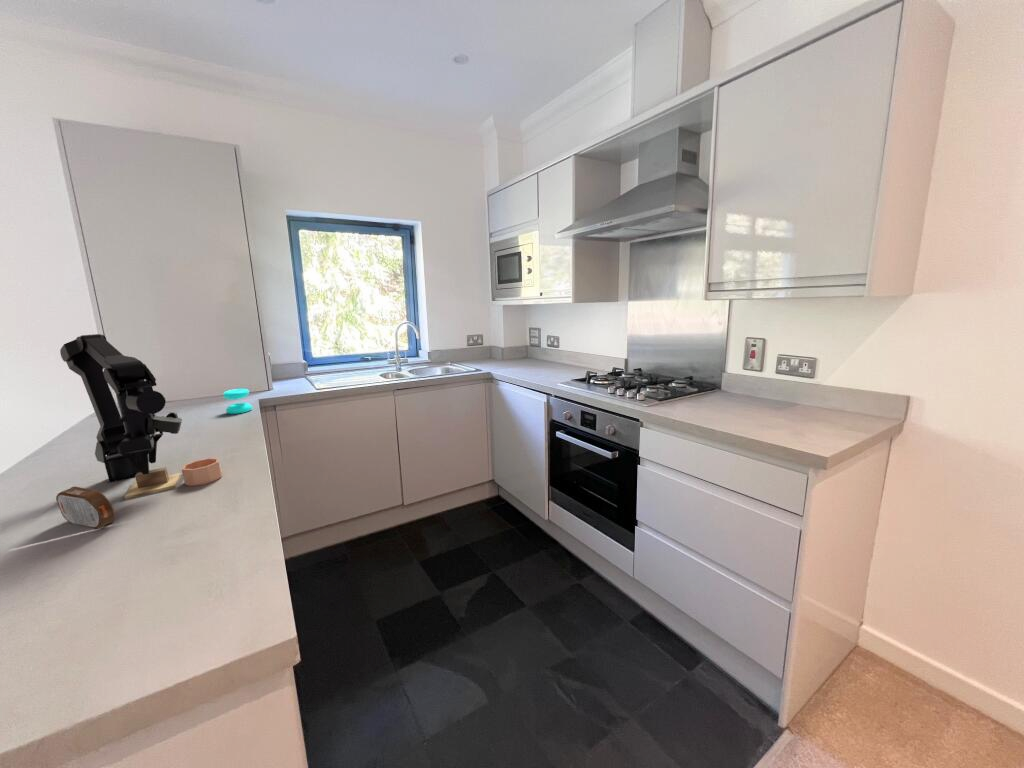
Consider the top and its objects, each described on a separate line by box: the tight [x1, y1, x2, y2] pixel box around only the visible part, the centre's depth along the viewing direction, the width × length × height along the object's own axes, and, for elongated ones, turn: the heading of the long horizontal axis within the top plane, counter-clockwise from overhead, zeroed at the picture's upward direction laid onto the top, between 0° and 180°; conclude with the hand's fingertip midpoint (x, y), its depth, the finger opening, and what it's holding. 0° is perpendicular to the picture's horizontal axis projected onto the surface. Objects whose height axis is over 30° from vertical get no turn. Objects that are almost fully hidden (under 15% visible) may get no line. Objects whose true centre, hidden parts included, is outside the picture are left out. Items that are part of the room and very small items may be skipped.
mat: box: [118, 473, 184, 503], centre depth 112 cm, size 12×12×1 cm
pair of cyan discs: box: [222, 388, 253, 415], centre depth 191 cm, size 10×10×10 cm
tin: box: [55, 486, 116, 530], centre depth 93 cm, size 15×3×8 cm, turn 71°
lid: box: [124, 466, 181, 499], centre depth 111 cm, size 10×10×4 cm
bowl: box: [181, 457, 223, 487], centre depth 114 cm, size 8×8×5 cm
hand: (149, 468), depth 111 cm, fingers open, 9 cm apart
